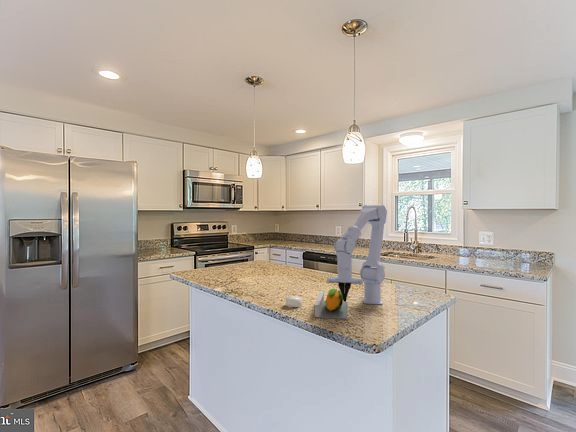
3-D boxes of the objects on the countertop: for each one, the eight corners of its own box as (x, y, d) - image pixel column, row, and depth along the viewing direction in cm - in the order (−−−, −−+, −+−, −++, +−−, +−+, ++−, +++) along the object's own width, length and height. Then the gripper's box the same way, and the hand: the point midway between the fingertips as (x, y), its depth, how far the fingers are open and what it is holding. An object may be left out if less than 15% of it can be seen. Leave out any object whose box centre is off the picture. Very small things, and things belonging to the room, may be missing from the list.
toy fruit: (343, 285, 134) (339, 297, 115) (345, 302, 134) (341, 317, 114) (326, 286, 136) (320, 297, 116) (328, 303, 136) (322, 317, 116)
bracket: (320, 301, 138) (320, 290, 138) (347, 303, 135) (347, 291, 135) (314, 317, 116) (314, 304, 116) (346, 319, 114) (346, 306, 114)
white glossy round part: (287, 303, 136) (287, 295, 136) (302, 304, 135) (302, 296, 135) (284, 307, 130) (284, 299, 130) (300, 308, 128) (300, 300, 128)
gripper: (326, 269, 122) (326, 302, 122) (362, 270, 119) (363, 304, 119) (327, 266, 129) (327, 298, 129) (362, 267, 126) (362, 299, 126)
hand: (344, 301), depth 125 cm, fingers closed
